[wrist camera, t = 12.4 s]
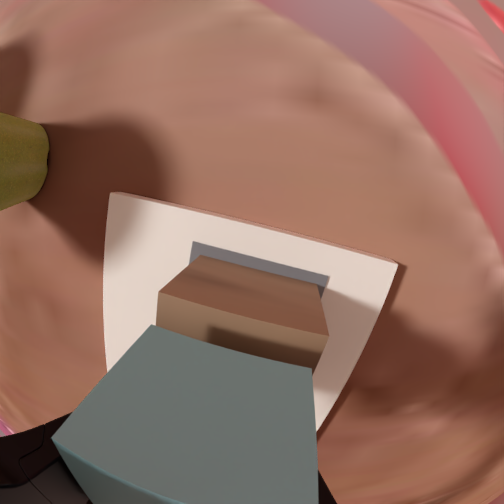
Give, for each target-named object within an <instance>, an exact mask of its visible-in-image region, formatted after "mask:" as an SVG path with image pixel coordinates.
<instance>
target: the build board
mask: <svg viewBox="0 0 504 504" xmlns="http://www.w3.org/2000/svg"><path fill="white" fill-rule="evenodd" d="M200 255H203V256H207V257H211V258H215V259H219V260H223V261H227V262H231V263H234V264H238V265H242V266H246V267H250V268H254V269H258V270H262V271H266V272H270V273H274V274H278V275H282V276H286V277H290V278H294V279H298V280H302V281H307V282H311V283H315V284H317V287H318V291H319V295H320V299H321V303H322V307H323V311H324V315H325V319H326V324H327V328H328V332H329V338H328V341H327V343H326V346H325V348H324V351H323V353H322V355H321V358H320V360H319V362H318V364H317V367H316V369H315V371H314V373H313V376H312V379H313V392H314V405H315V421H316V432H317V430H318V429H319V427H320V426H321V424H322V423H323V421H324V419H325V418H326V416H327V415H328V413H329V411H330V410H331V408H332V406H333V405H334V403H335V401H336V400H337V398H338V396H339V394H340V393H341V391H342V389H343V387H344V386H345V384H346V382H347V380H348V378H349V376H350V375H351V373H352V371H353V369H354V367H355V365H356V363H357V361H358V359H359V357H360V355H361V353H362V351H363V349H364V347H365V345H366V343H367V341H368V338H369V336H370V334H371V332H372V330H373V327H374V325H375V323H376V321H377V318H378V316H379V314H380V311H381V309H382V306H383V304H384V302H385V299H386V297H387V294H388V291H389V289H390V286H391V284H392V281H393V278H394V275H395V273H396V270H397V267H398V264H397V263H396V262H395V261H393V260H392V259H389V258H386V257H382V256H379V255H375V254H372V253H368V252H365V251H361V250H358V249H354V248H350V247H347V246H343V245H340V244H336V243H332V242H329V241H325V240H321V239H318V238H314V237H310V236H306V235H302V234H299V233H295V232H291V231H287V230H283V229H279V228H275V227H272V226H268V225H264V224H260V223H256V222H252V221H247V220H243V219H239V218H235V217H231V216H227V215H223V214H219V213H214V212H210V211H206V210H201V209H197V208H193V207H188V206H184V205H180V204H175V203H171V202H166V201H162V200H157V199H152V198H148V197H143V196H138V195H134V194H129V193H124V192H111V193H110V197H109V205H108V214H107V224H106V235H105V250H104V273H103V314H104V337H105V351H106V363H107V372H108V371H109V370H110V369H111V368H112V367H113V366H114V365H115V364H116V362H117V361H118V360H119V359H120V358H121V357H122V356H123V355H124V354H125V352H126V351H127V350H128V349H129V348H130V347H131V346H132V345H133V344H134V342H135V341H136V340H137V339H138V338H139V337H140V336H141V335H142V334H143V333H144V332H145V330H146V329H147V328H148V327H149V326H150V325H151V324H152V325H155V326H156V313H157V300H158V291H159V290H161V289H162V288H163V287H164V286H165V285H166V284H167V283H169V282H170V281H171V280H172V279H173V278H174V277H175V276H177V275H178V274H179V273H180V272H181V271H182V270H183V269H185V268H186V267H187V266H188V265H189V264H190V263H192V262H193V261H194V260H195V259H196V258H197V257H198V256H200Z"/></svg>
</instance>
